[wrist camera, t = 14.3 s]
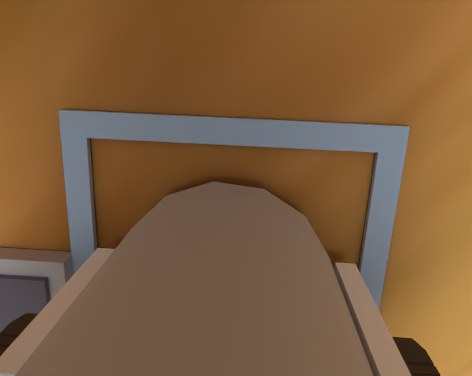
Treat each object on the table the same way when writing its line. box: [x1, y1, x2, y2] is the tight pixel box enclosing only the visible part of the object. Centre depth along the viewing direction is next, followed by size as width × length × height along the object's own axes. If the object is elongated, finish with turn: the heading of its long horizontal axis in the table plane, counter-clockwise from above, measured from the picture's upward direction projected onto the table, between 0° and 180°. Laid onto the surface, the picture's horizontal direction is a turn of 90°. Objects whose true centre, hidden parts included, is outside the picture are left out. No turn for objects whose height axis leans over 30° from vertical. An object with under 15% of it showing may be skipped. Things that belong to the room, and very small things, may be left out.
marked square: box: [58, 109, 410, 310], centre depth 16 cm, size 13×13×1 cm
